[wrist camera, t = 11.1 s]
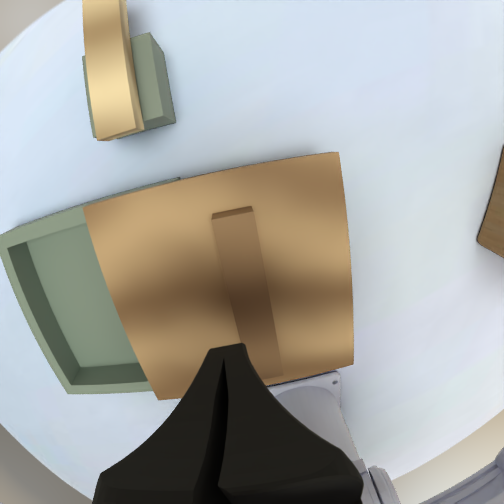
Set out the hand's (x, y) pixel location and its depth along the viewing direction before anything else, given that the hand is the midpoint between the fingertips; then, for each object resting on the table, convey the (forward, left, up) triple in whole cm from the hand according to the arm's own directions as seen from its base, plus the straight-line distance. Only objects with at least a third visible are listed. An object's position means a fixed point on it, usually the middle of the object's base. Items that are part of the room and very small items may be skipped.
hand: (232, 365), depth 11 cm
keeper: (+12, +3, -10) cm, 17 cm away
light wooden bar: (+15, +3, -6) cm, 16 cm away
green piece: (-1, +9, -10) cm, 14 cm away
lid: (-1, 0, -7) cm, 7 cm away
